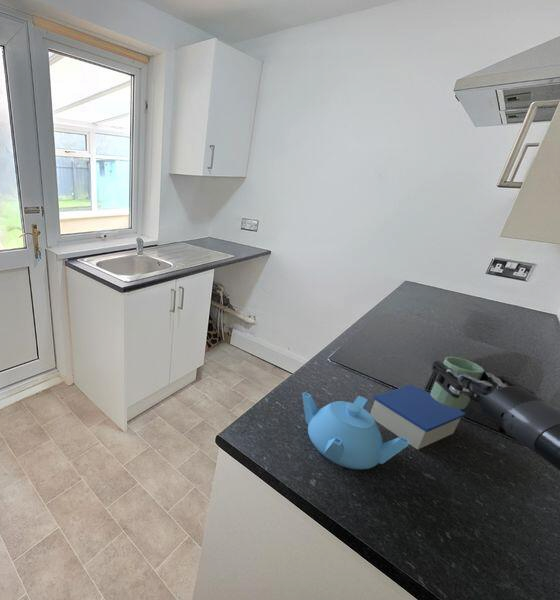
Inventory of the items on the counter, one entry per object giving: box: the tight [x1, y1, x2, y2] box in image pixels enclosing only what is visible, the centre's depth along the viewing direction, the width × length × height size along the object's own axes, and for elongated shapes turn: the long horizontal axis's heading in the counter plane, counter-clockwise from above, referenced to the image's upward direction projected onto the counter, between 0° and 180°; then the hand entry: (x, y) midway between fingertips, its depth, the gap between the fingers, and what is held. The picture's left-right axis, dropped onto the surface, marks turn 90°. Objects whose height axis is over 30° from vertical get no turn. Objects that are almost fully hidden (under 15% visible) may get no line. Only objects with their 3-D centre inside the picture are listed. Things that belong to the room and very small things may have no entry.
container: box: [369, 384, 466, 450], centre depth 75 cm, size 16×12×6 cm
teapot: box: [301, 391, 410, 470], centre depth 65 cm, size 15×15×11 cm
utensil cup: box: [429, 356, 485, 410], centre depth 66 cm, size 6×6×9 cm
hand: (450, 366), depth 67 cm, fingers closed on utensil cup, 6 cm apart
